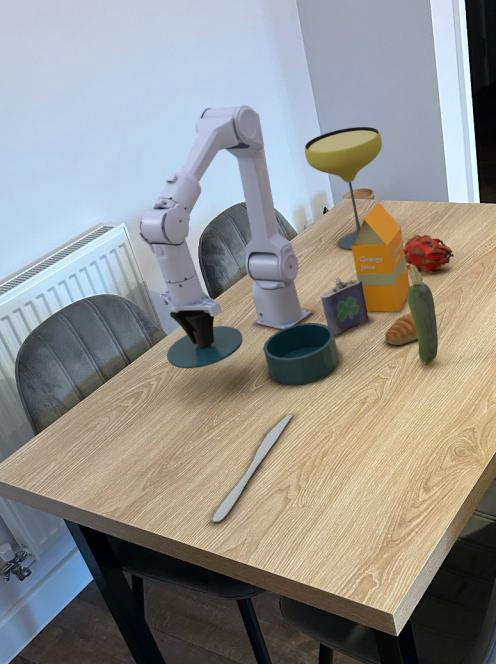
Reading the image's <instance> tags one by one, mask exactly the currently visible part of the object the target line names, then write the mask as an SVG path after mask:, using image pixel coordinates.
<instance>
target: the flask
mask: <svg viewBox="0 0 496 664" xmlns="http://www.w3.org/2000/svg"><path fill="white" fill-rule="evenodd" d="M333 282H335V285H334V286H335V287H333V288H331V289H329V290H327V291H326V292H324V293H322V294H321V295H320V299H321V303H322V309H323V312H324V317H325V321H326V326H328V327H330V328H331V329H332V331H333V333H334V337H339V336H341V335H343V334H345V333H348V332H350V331H352V330H353V329H355V328H358V327H359V326H362V325H364V324H367V323H368V322H369V313H368V311H367V308H366V302H365V297H364V291H363V287H362V282H361V281H360V280H358V279H357V278H356V279H350V280H349V281H346V282H344V281H342V278H340V277H337V278H335V279H334V280H333Z"/></svg>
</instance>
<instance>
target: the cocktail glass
mask: <svg viewBox="0 0 496 664" xmlns="http://www.w3.org/2000/svg"><path fill="white" fill-rule="evenodd" d="M382 147H383V141H382V136H381V133H380V131H379V130H378V129H377V128H375V127H370V126H356V127H347V128H342V129H337V130H333V131H329V132H326V133H324V134H320V135H318V136H315V137H313V138H312V139H310V140H309V141H307V142H306V144H305V145H304V155H305V159H306V161H307V163H308V165H309V166H310V167H311V168H313V169H315V170H316V171H318V172H321V173H325V174H330V175H334V176H337V177H339V178H341V180H343V181H344V182H345V183H347V184H348V187H349V192H350V197H351V202H352V208H353V215H354V218H355V219H354V220H355V226H356V227H355V229H356V232H353V233H350V234H347V235H346V236H344V237H343V238H342V239H340V241H339V245H340V246H339V247H341V248H343V249H346V250H352V247H351V246H352V245H353V243H354V241H355V239H356V236H357V234H358V232H359V230H360V228H361V224H360V220H359V214H358V211H357V205H356V201H355V196H354V195H355V194H354V189H353V185H352V184H353V182H354V181H355V179H356V177H357V175H358V173H360V171H361V170H363V169H364V168H365V167H366V166H368V165H369V164H370V163H371V162H373V161H374V160H375V159H376V158H377V157H378V155H379V154H380V152H381V151H382Z"/></svg>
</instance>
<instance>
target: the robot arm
mask: <svg viewBox="0 0 496 664" xmlns="http://www.w3.org/2000/svg"><path fill="white" fill-rule="evenodd" d="M194 125H195V127H194V128H195V132H196V135H195V137H194V140H193V142H192V144H191V146H190V149H189V150H188V151H189V152H188V153H187V156H186V158H185V160H184V163H183V165H182V167H181V170H180V171H175V172H173V173H171V174H168V176H167V178H166V179H165V182H166V183H165V185H164V187H163V189H162V190H161V192H160V194H159V196H158V198H157V199H156V200H155V202H154V205H153V207H152V208H150V209H147V210H146V211H145V212H144V213H143V214H142V216H141V217H140V220H139V232H138V235H139V237H140V238H141V240H142V241H143V242H144V243H146V244H147V245H148V246H149V248H150V252H151V253H153V254H154V255H155V258H156V260H157V264H158V266H159V270H160V272H161V274H162V278H163V280H164V283H165V285H166V288H167V290H166V291H164V292H162V293H161V294H159V298H160V301H161V304H162V305H163V306H167V305H169V308H168V309H169V315H170V317H171V318H172V319H173V320H174V321H175V322H176V323H178V325H179V326H180V327H181V328H182V329H183V331H184V332H185V334H186V335H188V336H189V338H190V339H191V341H192V342H193V344H197V342H196V339H195V337H194V334H193V330H194V329H195V331H196V332H197V335H198V337H199V339H200V341H201V343H202V345H203V346H204V347H208V346H209V345H211V344H212V343H214V335H213V327H214V323H215V322H214V320H215V317H216V316H218V315H219V314H222V312H223V310H222V307H221V304H220V302H219V301H217V300H214V299H213V298H211V297H210V296H209V295H208V294H207V293H205V292H204V290H203V288H202V284H201V281H200V278H199V276H198V273H197V270H196V267H195V264H194V261H193V258H192V255H191V252H190V249H189V246H188V243H187V238H188V236H189V232H190V225H189V224H190V220H191V218H190V217H191V215H190V214H191V213H192V211H193V209H194V208H195V205H196V203H197V201H198V199H199V197H200V195H201V194H202V187H201V185H200V181H201V179H202V177H203V176H204V175H205V173H206V172H207V170H208V168H209V167H210V165H211V163H212V162H213V160H214V159H215V157H216V156H217V154H218V153H219V152H220V151H222V150H226V151H227V152H228V153H230V154H231V155H232V156H234V157H235V158H236V160H237V165H238V170H239V176H240V180H241V186H242V191H243V197H244V202H245V206H246V213H247V217H248V223H249V227H250V234H251V237H252V238H251V240H250V241H249V242H248V243H247V245H246V246H245V247H244V251H245V266H244V267H245V271H246V274H247V276H248V277H249V279H250V280H252V281H255V282H254V283H253V285H252V288H251V298H252V301H253V305H254V308H255V311H256V315H257V320H256V322H255V323H256V324H258V325H263V326H267V327H271V328H274V329H278V330H282V329H284V328H287V327H290V326H293V325H297V324H299V323H300V322H301V321H303V320H304V319H305V318H307V317H309V316H310V315H311V314H312V312H311V310H308V309H307V310H306V309H302V306H301V303H300V300H299V295H298V291H297V287H296V283H295V279H296V278H297V276H298V273H299V269H300V267H299V260H298V257H297V255H296V253H295V251H294V248H293V243H292V242H291V240H288V239H287V238H286V237H284V236H283V235H281V234H280V233H279V227H278V222H277V217H276V216H277V215H276V210H275V205H274V198H273V194H272V188H271V182H270V181H271V180H270V175H269V170H268V164H267V158H266V152H265V143H264V135H263V131H262V126H261V125H262V124H261V119H260V114H259V113H257V112H256V111H255V110H254V109H253V108H252V107H251V106H249V105H246V104H245V105H244V104H243V105H240V106H229V107H228V106H227V107H218V108H212V107H207V108H204V109H203V110H202V111H200V113H199V116H198V119H197V120H196V121H195V123H194Z"/></svg>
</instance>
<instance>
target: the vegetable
mask: <svg viewBox="0 0 496 664" xmlns="http://www.w3.org/2000/svg"><path fill="white" fill-rule="evenodd" d="M404 270H405V272H406V273H409V277H410V281H411V285H410V288H409V289H408V292H407V298H406V301H407V305H408V308H409V310H410V312H411V314H412V317H413V320H414V322H415V324H416V327H417V331H418V339H417V345H418V357H419V358H420V361H421V363H423V365H424V366H429V365H431V364H432V363H433V361H434V360H436V357H437V355H438V349H439V335H438V327H437V315H436V307H435V300H434V296H433V293H432V290H431V288H430V287H429V286H428V284H426V283H425V282H424V278H423V275H422V274H421V272H420V273H419V272H418V270H417V268H416V267H415V266H414V265H412V264H408V263H406V266H405V269H404Z"/></svg>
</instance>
